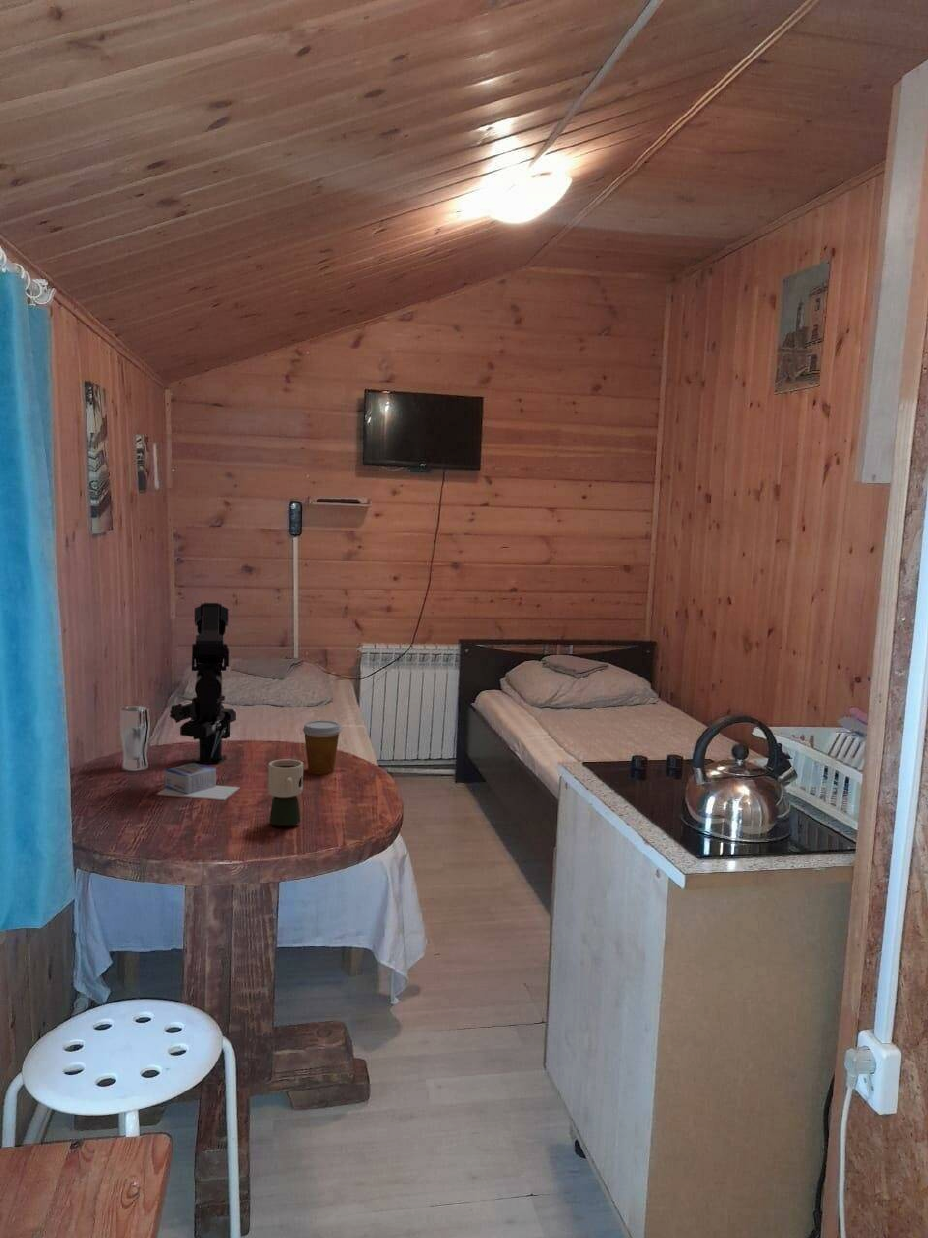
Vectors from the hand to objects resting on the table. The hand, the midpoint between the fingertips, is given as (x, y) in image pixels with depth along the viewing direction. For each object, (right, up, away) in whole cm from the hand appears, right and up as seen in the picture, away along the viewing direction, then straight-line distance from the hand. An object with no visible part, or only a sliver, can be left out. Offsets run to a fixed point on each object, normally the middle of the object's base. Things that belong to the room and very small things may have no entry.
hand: (208, 758), depth 214 cm
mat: (-1, -7, -5) cm, 9 cm away
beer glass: (-22, -5, +12) cm, 26 cm away
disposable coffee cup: (+24, -6, +16) cm, 29 cm away
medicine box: (-1, -4, +1) cm, 4 cm away
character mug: (+23, -10, -24) cm, 35 cm away
